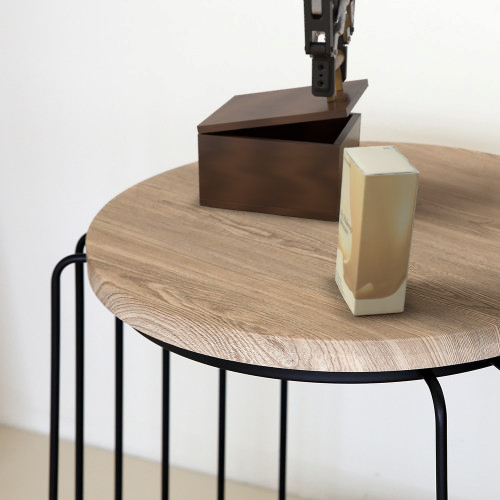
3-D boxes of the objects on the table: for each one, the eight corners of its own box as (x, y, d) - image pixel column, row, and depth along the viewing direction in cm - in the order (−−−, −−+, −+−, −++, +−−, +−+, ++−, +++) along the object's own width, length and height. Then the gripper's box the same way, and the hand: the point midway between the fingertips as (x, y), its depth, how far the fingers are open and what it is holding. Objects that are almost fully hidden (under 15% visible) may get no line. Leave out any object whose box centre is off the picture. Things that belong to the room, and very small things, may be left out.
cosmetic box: (333, 281, 69) (340, 145, 63) (382, 277, 69) (393, 142, 64) (353, 319, 63) (363, 172, 58) (406, 314, 64) (421, 169, 58)
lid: (368, 85, 86) (362, 39, 84) (347, 117, 75) (339, 64, 74) (235, 102, 92) (227, 58, 90) (198, 133, 81) (187, 85, 79)
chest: (357, 179, 91) (361, 113, 88) (335, 221, 80) (339, 147, 77) (235, 166, 95) (235, 102, 92) (199, 205, 84) (197, 134, 81)
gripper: (360, -89, 67) (353, 109, 74) (385, -95, 79) (377, 75, 86) (274, -88, 69) (275, 104, 76) (311, -94, 81) (309, 71, 89)
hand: (329, 88), depth 81 cm, fingers closed on lid, 5 cm apart
